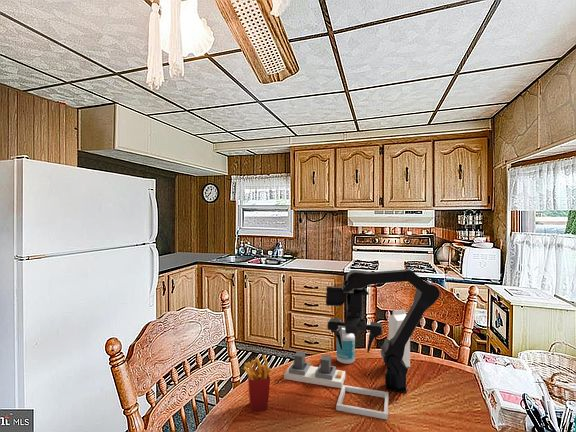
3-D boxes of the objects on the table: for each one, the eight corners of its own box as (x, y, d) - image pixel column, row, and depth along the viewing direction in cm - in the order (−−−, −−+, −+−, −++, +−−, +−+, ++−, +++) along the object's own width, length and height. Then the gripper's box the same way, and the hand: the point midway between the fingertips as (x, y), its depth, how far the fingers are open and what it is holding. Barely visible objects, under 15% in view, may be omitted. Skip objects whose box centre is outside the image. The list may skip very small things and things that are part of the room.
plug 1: (305, 367, 125) (305, 352, 125) (301, 373, 120) (301, 356, 120) (297, 366, 125) (297, 350, 126) (294, 371, 121) (294, 355, 121)
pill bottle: (356, 364, 132) (356, 331, 132) (337, 364, 132) (338, 330, 132) (353, 357, 139) (353, 325, 140) (335, 356, 140) (335, 324, 140)
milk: (410, 367, 130) (410, 311, 130) (396, 369, 128) (397, 312, 128) (400, 360, 136) (401, 307, 136) (388, 362, 134) (388, 308, 134)
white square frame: (388, 396, 108) (388, 392, 108) (387, 419, 96) (387, 414, 96) (342, 389, 113) (342, 384, 113) (336, 410, 100) (336, 405, 100)
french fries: (270, 411, 99) (271, 361, 100) (243, 414, 98) (243, 364, 98) (266, 396, 108) (266, 350, 108) (241, 399, 106) (241, 352, 106)
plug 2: (331, 371, 121) (331, 355, 121) (328, 377, 117) (328, 360, 117) (323, 370, 122) (323, 354, 122) (320, 376, 118) (320, 359, 118)
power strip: (345, 376, 122) (345, 367, 122) (341, 388, 113) (341, 378, 113) (291, 368, 129) (291, 359, 129) (284, 378, 120) (284, 369, 120)
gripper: (324, 309, 112) (324, 356, 111) (381, 315, 106) (381, 363, 105) (330, 302, 122) (330, 344, 122) (382, 306, 116) (382, 350, 116)
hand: (354, 350), depth 116 cm, fingers open, 9 cm apart
